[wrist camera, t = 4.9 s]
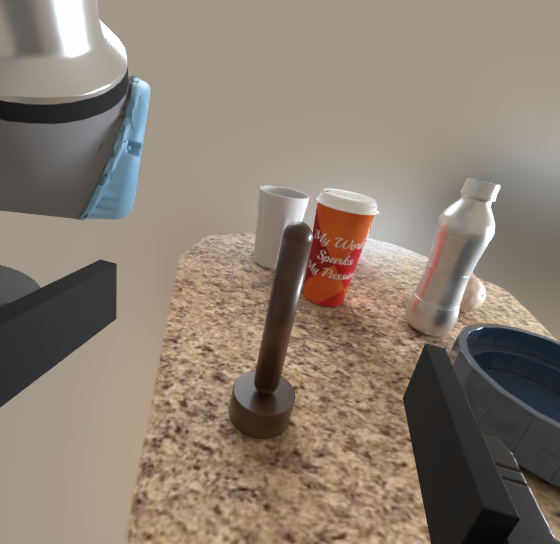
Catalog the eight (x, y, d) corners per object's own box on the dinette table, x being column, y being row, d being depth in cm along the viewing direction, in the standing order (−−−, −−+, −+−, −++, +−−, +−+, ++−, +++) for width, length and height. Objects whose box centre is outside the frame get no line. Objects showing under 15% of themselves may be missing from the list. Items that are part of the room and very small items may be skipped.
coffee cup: (293, 303, 48) (318, 193, 42) (296, 279, 55) (318, 184, 50) (354, 316, 48) (387, 208, 42) (349, 290, 55) (376, 196, 49)
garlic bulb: (457, 300, 60) (476, 256, 57) (483, 320, 54) (506, 273, 51) (424, 296, 59) (441, 252, 55) (447, 317, 53) (468, 269, 50)
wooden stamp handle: (225, 392, 30) (255, 207, 24) (280, 390, 32) (322, 215, 26) (233, 441, 26) (272, 230, 20) (297, 436, 28) (352, 239, 21)
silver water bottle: (405, 336, 45) (465, 179, 38) (396, 311, 52) (446, 172, 44) (456, 347, 45) (527, 192, 37) (440, 321, 51) (499, 183, 43)
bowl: (406, 363, 40) (422, 322, 37) (522, 361, 45) (542, 324, 43) (550, 529, 24) (592, 475, 22) (699, 495, 30) (745, 449, 28)
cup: (243, 264, 57) (255, 190, 52) (253, 249, 64) (264, 183, 60) (292, 275, 57) (308, 202, 52) (296, 258, 64) (310, 193, 59)
